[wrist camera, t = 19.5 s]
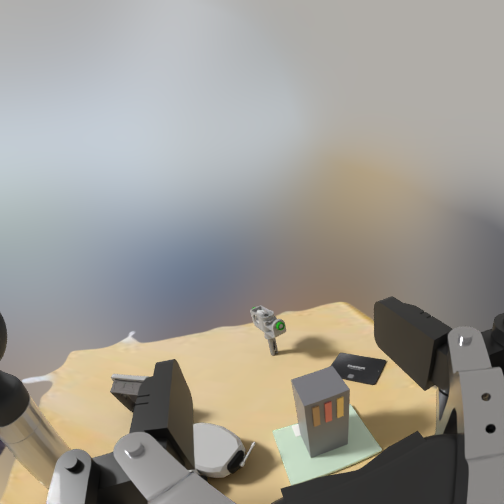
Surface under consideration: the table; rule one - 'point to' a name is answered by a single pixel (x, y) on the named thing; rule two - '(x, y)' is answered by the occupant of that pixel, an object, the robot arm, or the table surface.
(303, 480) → the board
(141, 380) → the electrical switch
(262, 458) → the table surface
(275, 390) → the table surface
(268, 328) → the mechanical component
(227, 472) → the robot toy
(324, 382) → the plug block
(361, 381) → the solid state drive
